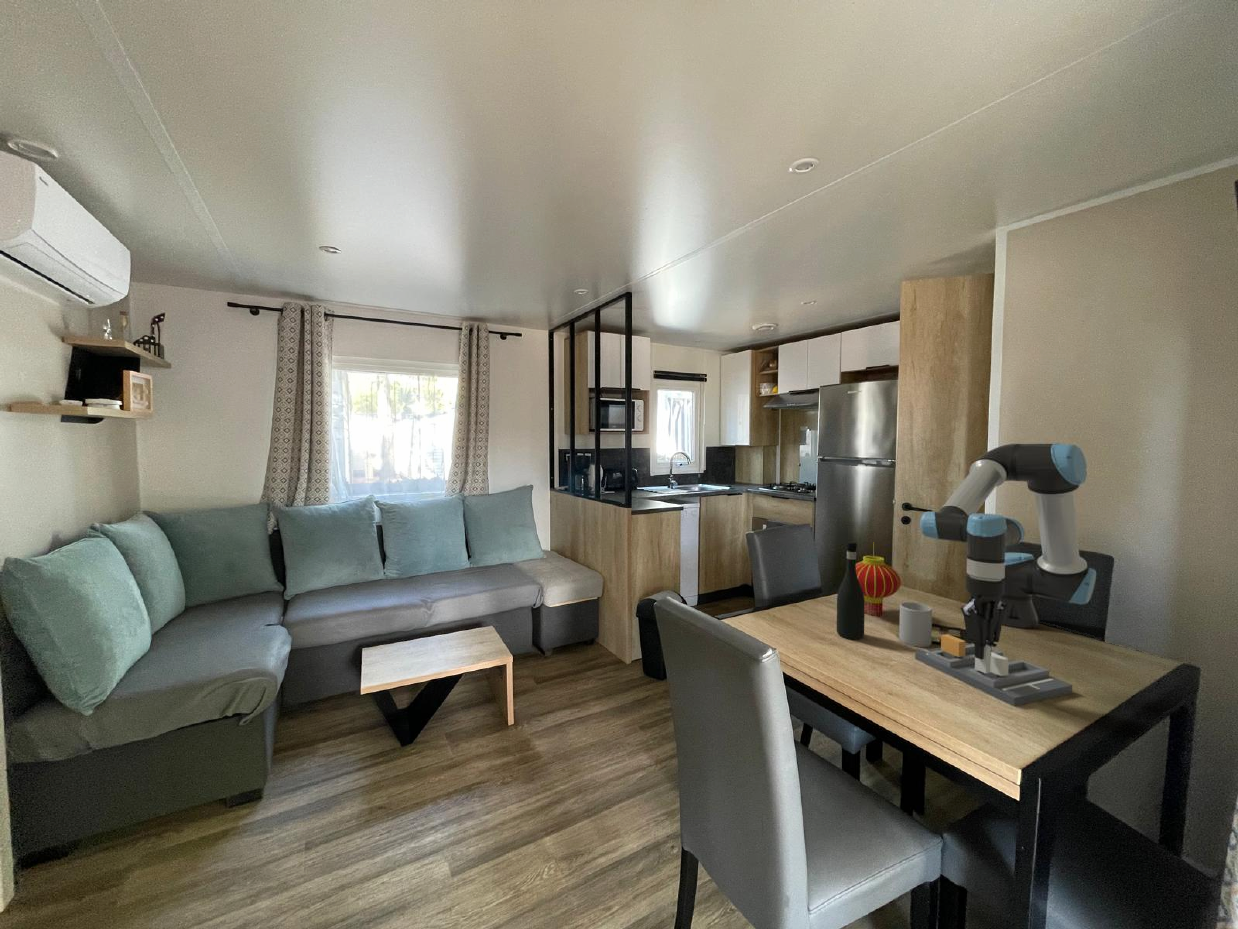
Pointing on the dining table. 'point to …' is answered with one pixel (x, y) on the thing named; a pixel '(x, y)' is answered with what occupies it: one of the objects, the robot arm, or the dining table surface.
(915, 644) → the mug
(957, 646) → the block
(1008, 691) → the grey flat slotted tray
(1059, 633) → the dining table surface
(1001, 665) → the fader
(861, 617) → the wine bottle
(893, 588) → the lantern
